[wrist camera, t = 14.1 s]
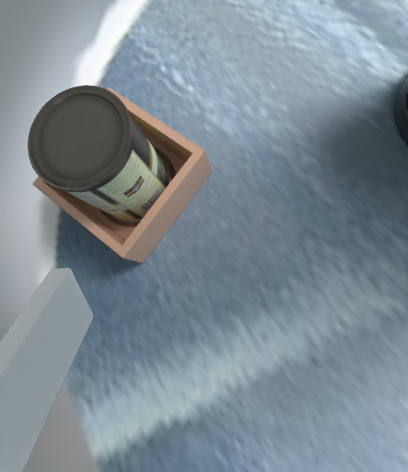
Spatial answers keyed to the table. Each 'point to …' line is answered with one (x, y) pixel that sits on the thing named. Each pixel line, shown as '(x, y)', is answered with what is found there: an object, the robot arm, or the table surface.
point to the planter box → (167, 205)
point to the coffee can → (97, 153)
